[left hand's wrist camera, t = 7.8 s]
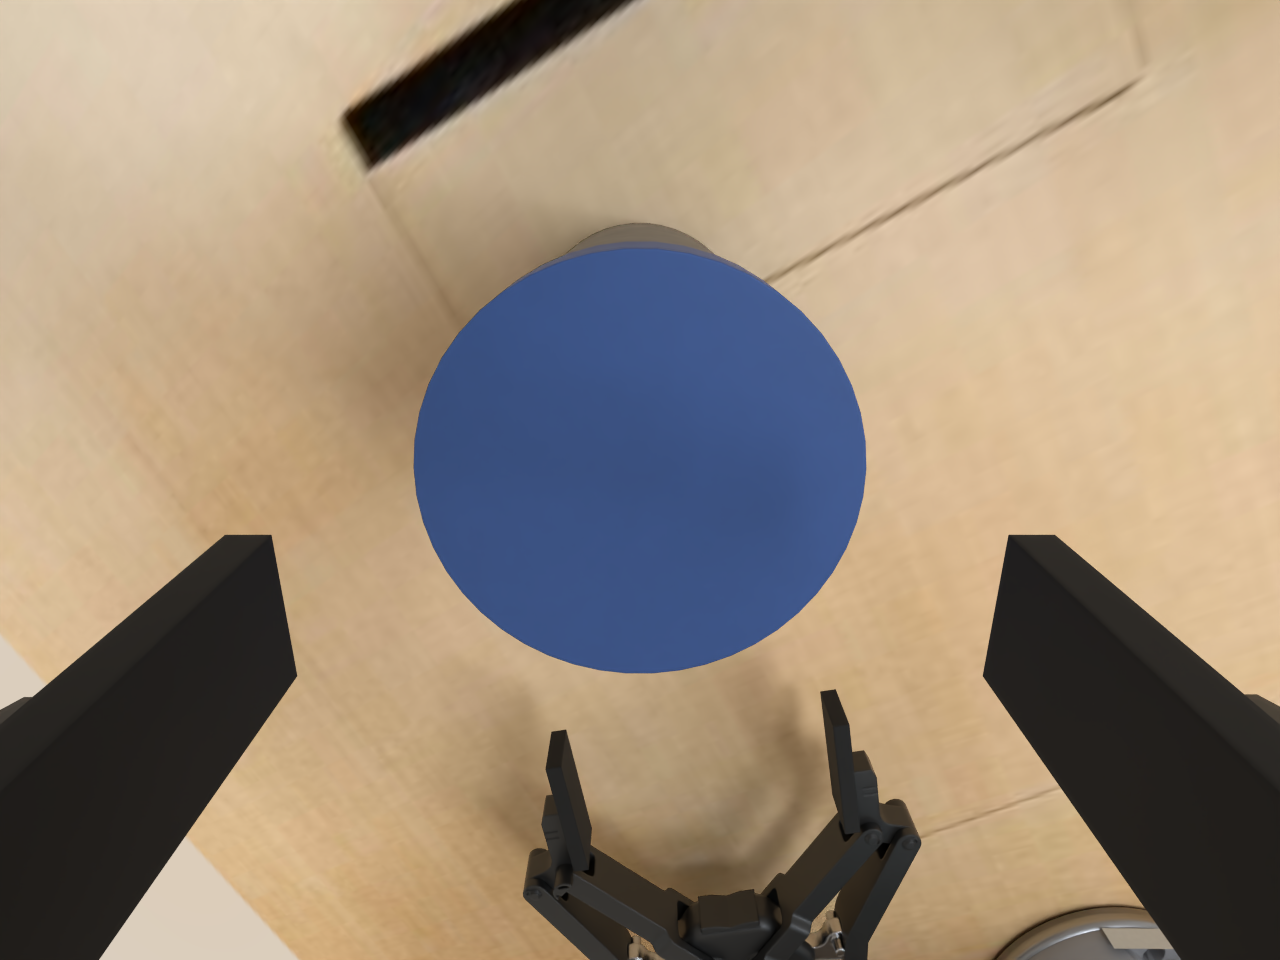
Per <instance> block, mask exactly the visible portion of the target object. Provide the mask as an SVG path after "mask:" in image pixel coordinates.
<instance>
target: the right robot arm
mask: <svg viewBox="0 0 1280 960" xmlns="http://www.w3.org/2000/svg"><path fill="white" fill-rule="evenodd" d="M820 693H821V701H822V710H823V718H824V727H825V735H826V744H827V752H828V761H829V769H830V778H831V786H832V795H833V798H834V801H835V804H836V807H837V810H838V813H837V814H836V815H835V816H834V818H833V819H832V820H831V821H830V822H829V824H828V825H827V826H826V827H825V828H824V829H823V831H822V832H821V833H820V834H819V835H818V836H817V838H816V839H815V840H814V841H813V842H812V844H811V845H810V846H809V847H808V848H807V849H806V851H805V852H804V853H803V854H802V855H801V856H800V858H799V859H798V860H797V861H796V862H795V864H794V865H793V866H792V867H791V868H790V869H789V871H788V872H787V873H786V874H785V875H784V874H782V873H779V874H777V875H776V877H775V878H774V879H773V880H772V881H771V882H770V884H769V885H768V886H767V887H766V888H765V890H764V891H763V892H762V893H761V894H755V893H754V889H752V890H744V891H739V892H736V893H733V894H730V895H727V896H722V895H707V896H700V897H698V901H697V902H695V903H694V902H693V901H691V900H690V899H688V898H686V897H685V896H683V895H682V894H680V893H678V892H677V891H675V890H674V889H672V888H668V889H667V890H665V891H664V890H662V889H660V888H659V887H657V886H655V885H654V884H652V883H651V882H649V881H647V880H646V879H644V878H643V877H641V876H639V875H638V874H636V873H635V872H633V871H631V870H630V869H628V868H627V867H625V866H623V865H622V864H620V863H618V862H617V861H615V860H614V859H612V858H610V857H609V856H607V855H606V854H604V853H602V852H601V851H599V850H598V849H596V848H594V847H593V846H591V831H592V827H591V824H590V820H589V816H588V812H587V808H586V804H585V800H584V797H583V793H582V789H581V785H580V781H579V777H578V773H577V770H576V766H575V762H574V758H573V754H572V750H571V747H570V743H569V739H568V735H567V731H566V730H561V731H554V732H551V739H550V745H549V751H548V757H547V764H546V773H547V776H548V780H549V783H550V787H551V791H552V794H553V795H548V796H546V800H545V805H544V812H543V818H542V828H543V832H544V835H545V839H546V842H547V845H548V849H549V850H546V849H542V848H538V849H535V850H533V851H532V852H530V855H529V860H528V866H527V872H526V878H525V884H524V890H523V897H524V898H525V900H526V901H528V902H529V903H530V904H531V905H532V906H533V907H534V908H535V909H536V910H537V911H538V912H539V913H540V914H541V915H543V916H544V917H545V918H546V919H547V920H548V921H549V922H550V923H551V924H552V925H553V926H554V927H555V928H556V929H557V930H559V931H560V932H561V933H562V934H563V935H564V936H565V937H566V938H567V939H568V940H569V941H570V942H571V943H572V944H574V945H575V946H576V947H577V948H578V949H579V950H580V951H581V952H582V953H583V954H584V955H585V956H586V957H587V958H589V959H590V960H867V953H868V942H869V940H870V938H871V937H872V935H873V933H874V931H875V929H876V927H877V925H878V924H879V922H880V920H881V918H882V916H883V914H884V913H885V911H886V909H887V907H888V905H889V903H890V902H891V900H892V898H893V896H894V894H895V892H896V891H897V889H898V887H899V885H900V883H901V881H902V880H903V878H904V876H905V874H906V872H907V870H908V869H909V867H910V865H911V863H912V861H913V859H914V858H915V856H916V854H917V852H918V850H919V848H920V846H921V839H920V837H919V835H918V832H917V830H916V828H915V825H914V823H913V821H912V819H911V816H910V814H909V812H908V809H907V807H906V805H905V803H904V802H903V801H902V800H899V799H893V800H889V801H888V802H886V803H885V804H882V803H879V799H878V788H877V777H876V775H875V772H874V770H873V767H872V765H871V762H870V760H869V758H868V756H867V754H866V753H865V751H857V752H852V746H851V736H850V727H849V723H848V720H847V718H846V715H845V712H844V710H843V707H842V705H841V702H840V700H839V697H838V694H837V692H836V689H835V690H828V691H822V692H820ZM839 891H840V892H839ZM838 892H839V895H838V897H837V899H836V903H835V909H834V911H828V912H827V913H826V919H827V920H826V921H825V922H824V924H823V926H822V928H821V929H820V930H819V931H817V932H815V933H810V930H811V924H812V922H813V920H814V919H815V918H816V917H817V916H818V915H819V913H820V912H821V911H822V910H823V909H824V908H825V907H826V906H827V904H828V903H829V902H830V901H831V900H832V899H833V898H834V897H835V895H836V894H837V893H838ZM626 928H627V929H629V930H631V931H632V932H634V933H636V934H637V935H639V936H641V937H642V938H644V939H646V940H647V941H649V942H650V943H651V944H652V945H653V947H654V950H655V952H651V951H649V950H647V949H646V948H645V946H643V945H642V944H641V938H640V937H639V936H633V937H631V935H630V933H629V931H628V930H627V929H626ZM996 960H1181V959H1180V957H1179V956H1178V955H1177V953H1176V952H1175V950H1174V949H1173V947H1172V946H1171V945H1170V943H1169V942H1168V940H1167V939H1166V937H1165V936H1164V935H1163V933H1162V932H1161V930H1160V929H1159V927H1158V926H1157V925H1156V923H1155V922H1154V920H1153V919H1152V917H1151V916H1150V915H1149V913H1148V912H1147V910H1142V909H1136V908H1126V907H1108V908H1096V909H1089V910H1084V911H1079V912H1075V913H1071V914H1067V915H1064V916H1061V917H1058V918H1056V919H1053V920H1051V921H1048V922H1046V923H1044V924H1042V925H1040V926H1038V927H1036V928H1034V929H1032V930H1031V931H1029V932H1027V933H1026V934H1024V935H1023V936H1021V937H1020V938H1018V939H1017V940H1016V941H1015V942H1013V943H1012V944H1011V945H1010V946H1009V947H1008V948H1006V949H1005V950H1004V951H1003V952H1002V953H1001V955H1000V956H999V957H998V958H997V959H996Z"/></svg>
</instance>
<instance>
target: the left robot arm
mask: <svg viewBox="0 0 1280 960" xmlns="http://www.w3.org/2000/svg"><path fill="white" fill-rule="evenodd" d="M296 677H297V672H296V667H295V661H294V656H293V650H292V645H291V639H290V634H289V628H288V623H287V618H286V612H285V607H284V601H283V596H282V590H281V585H280V579H279V574H278V568H277V563H276V557H275V552H274V546H273V541H272V536H271V535H224V536H223V537H222V538H221V539H220V540H219V541H217V542H216V543H215V544H214V545H213V546H211V547H210V548H209V549H208V550H207V551H205V552H204V553H203V554H202V555H201V556H200V557H198V558H197V559H196V560H195V561H194V562H192V563H191V564H190V565H189V566H188V567H186V568H185V569H184V570H183V571H182V572H181V573H179V574H178V575H177V576H176V577H175V578H173V579H172V580H171V581H170V582H169V583H167V584H166V585H165V586H164V587H163V588H162V589H160V590H159V591H158V592H157V593H156V594H154V595H153V596H152V597H151V598H150V599H148V600H147V601H146V602H145V603H144V604H143V605H141V606H140V607H139V608H138V609H137V610H135V611H134V612H133V613H132V614H131V615H129V616H128V617H127V618H126V619H125V620H124V621H122V622H121V623H120V624H119V625H118V626H116V627H115V628H114V629H113V630H112V631H110V632H109V633H108V634H107V635H106V636H105V637H103V638H102V639H101V640H100V641H99V642H97V643H96V644H95V645H94V646H93V647H91V648H90V649H89V650H88V651H87V652H86V653H84V654H83V655H82V656H81V657H80V658H78V659H77V660H76V661H75V662H74V663H72V664H71V665H70V666H69V667H68V668H67V669H65V670H64V671H63V672H62V673H61V674H59V675H58V676H57V677H56V678H55V679H53V680H52V681H51V682H50V683H49V684H48V685H46V686H45V687H44V688H43V689H42V690H41V691H39V692H38V693H37V694H36V695H34V696H33V697H23V698H22V699H20V700H18V701H16V702H14V703H12V704H10V705H9V706H7V707H5V708H3V709H1V710H0V960H99V959H100V957H101V956H102V955H103V953H104V952H105V950H106V949H107V947H108V946H109V944H110V943H111V942H112V940H113V939H114V937H115V936H116V935H117V933H118V932H119V930H120V929H121V927H122V926H123V925H124V923H125V922H126V920H127V919H128V917H129V916H130V915H131V913H132V912H133V910H134V909H135V907H136V906H137V904H138V903H139V902H140V900H141V899H142V897H143V896H144V894H145V893H146V892H147V890H148V889H149V887H150V886H151V884H152V883H153V882H154V880H155V879H156V877H157V876H158V874H159V873H160V872H161V870H162V869H163V867H164V866H165V864H166V863H167V862H168V860H169V859H170V857H171V856H172V854H173V853H174V852H175V850H176V849H177V847H178V846H179V844H180V843H181V841H182V840H183V839H184V837H185V836H186V834H187V833H188V832H189V830H190V829H191V827H192V826H193V824H194V823H195V822H196V820H197V819H198V817H199V816H200V814H201V813H202V812H203V810H204V809H205V807H206V806H207V804H208V803H209V801H210V800H211V799H212V797H213V796H214V794H215V793H216V791H217V790H218V789H219V787H220V786H221V784H222V783H223V781H224V780H225V779H226V777H227V776H228V774H229V773H230V771H231V770H232V769H233V767H234V766H235V764H236V763H237V761H238V760H239V759H240V757H241V756H242V754H243V753H244V751H245V750H246V749H247V747H248V746H249V744H250V743H251V741H252V740H253V739H254V737H255V736H256V734H257V733H258V731H259V730H260V729H261V727H262V726H263V724H264V723H265V721H266V720H267V719H268V717H269V716H270V714H271V713H272V711H273V710H274V708H275V707H276V706H277V704H278V703H279V701H280V700H281V698H282V697H283V696H284V694H285V693H286V691H287V690H288V688H289V687H290V686H291V684H292V683H293V681H294V680H295V678H296ZM983 677H984V678H985V680H986V681H987V683H988V684H989V686H990V687H991V688H992V690H993V691H994V693H995V694H996V696H997V697H998V698H999V700H1000V701H1001V703H1002V704H1003V706H1004V707H1005V708H1006V710H1007V711H1008V713H1009V714H1010V716H1011V717H1012V719H1013V720H1014V721H1015V723H1016V724H1017V726H1018V727H1019V729H1020V730H1021V731H1022V733H1023V734H1024V736H1025V737H1026V739H1027V740H1028V741H1029V743H1030V744H1031V746H1032V747H1033V749H1034V750H1035V751H1036V753H1037V754H1038V756H1039V757H1040V759H1041V760H1042V761H1043V763H1044V764H1045V766H1046V767H1047V769H1048V770H1049V771H1050V773H1051V774H1052V776H1053V777H1054V779H1055V780H1056V781H1057V783H1058V784H1059V786H1060V787H1061V789H1062V790H1063V791H1064V793H1065V794H1066V796H1067V797H1068V799H1069V800H1070V801H1071V803H1072V804H1073V806H1074V807H1075V809H1076V810H1077V812H1078V813H1079V814H1080V816H1081V817H1082V819H1083V820H1084V822H1085V823H1086V824H1087V826H1088V827H1089V829H1090V830H1091V832H1092V833H1093V834H1094V836H1095V837H1096V839H1097V840H1098V842H1099V843H1100V844H1101V846H1102V847H1103V849H1104V850H1105V852H1106V853H1107V854H1108V856H1109V857H1110V859H1111V860H1112V862H1113V863H1114V864H1115V866H1116V867H1117V869H1118V870H1119V872H1120V873H1121V874H1122V876H1123V877H1124V879H1125V880H1126V882H1127V883H1128V884H1129V886H1130V887H1131V889H1132V890H1133V892H1134V893H1135V894H1136V896H1137V897H1138V899H1139V900H1140V902H1141V903H1142V905H1143V906H1144V907H1145V909H1146V910H1147V912H1148V913H1149V915H1150V916H1151V917H1152V919H1153V920H1154V922H1155V923H1156V925H1157V926H1158V927H1159V929H1160V930H1161V932H1162V933H1163V935H1164V936H1165V937H1166V939H1167V940H1168V942H1169V943H1170V945H1171V946H1172V947H1173V949H1174V950H1175V952H1176V953H1177V955H1178V956H1179V957H1180V959H1181V960H1280V707H1279V706H1277V705H1276V704H1274V703H1272V702H1270V701H1268V700H1266V699H1264V698H1263V697H1261V696H1259V695H1244V694H1243V693H1242V692H1241V691H1240V690H1238V689H1237V688H1236V687H1235V686H1234V685H1232V684H1231V683H1230V682H1229V681H1228V680H1227V679H1225V678H1224V677H1223V676H1222V675H1221V674H1219V673H1218V672H1217V671H1216V670H1215V669H1213V668H1212V667H1211V666H1210V665H1209V664H1208V663H1206V662H1205V661H1204V660H1203V659H1202V658H1200V657H1199V656H1198V655H1197V654H1196V653H1194V652H1193V651H1192V650H1191V649H1190V648H1189V647H1187V646H1186V645H1185V644H1184V643H1183V642H1181V641H1180V640H1179V639H1178V638H1177V637H1175V636H1174V635H1173V634H1172V633H1171V632H1170V631H1168V630H1167V629H1166V628H1165V627H1164V626H1162V625H1161V624H1160V623H1159V622H1158V621H1156V620H1155V619H1154V618H1153V617H1152V616H1151V615H1149V614H1148V613H1147V612H1146V611H1145V610H1143V609H1142V608H1141V607H1140V606H1139V605H1137V604H1136V603H1135V602H1134V601H1133V600H1132V599H1130V598H1129V597H1128V596H1127V595H1126V594H1124V593H1123V592H1122V591H1121V590H1120V589H1118V588H1117V587H1116V586H1115V585H1114V584H1113V583H1111V582H1110V581H1109V580H1108V579H1107V578H1105V577H1104V576H1103V575H1102V574H1101V573H1099V572H1098V571H1097V570H1096V569H1095V568H1094V567H1092V566H1091V565H1090V564H1089V563H1088V562H1086V561H1085V560H1084V559H1083V558H1082V557H1080V556H1079V555H1078V554H1077V553H1076V552H1075V551H1073V550H1072V549H1071V548H1070V547H1069V546H1067V545H1066V544H1065V543H1064V542H1063V541H1061V540H1060V539H1059V538H1058V537H1057V536H1056V535H1009V536H1008V541H1007V546H1006V552H1005V557H1004V563H1003V568H1002V574H1001V579H1000V585H999V590H998V596H997V601H996V607H995V612H994V618H993V623H992V628H991V634H990V639H989V645H988V650H987V656H986V661H985V667H984V672H983Z"/></svg>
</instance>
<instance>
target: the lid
mask: <svg viewBox="0 0 1280 960" xmlns="http://www.w3.org/2000/svg"><path fill="white" fill-rule="evenodd" d="M414 476H415V485H416V495H417V499H418V503H419V507H420V511H421V515H422V519H423V523H424V525H425V528H426V530H427V533H428V535H429V538H430V540H431V543H432V546H433V548H434V550H435V552H436V553H437V555H438V557H439V559H440V560H441V562H442V564H443V566H444V568H445V569H446V571H447V573H448V574H449V575H450V577H451V578H452V579H453V581H454V582H455V583H456V585H457V586H458V587H459V589H460V590H461V592H462V593H463V594H464V595H465V596H466V597H467V598H468V599H469V600H470V601H471V602H472V603H473V604H474V605H475V607H476V608H477V609H478V610H479V611H480V612H481V613H482V614H484V615H485V616H486V617H487V618H489V619H490V620H491V621H492V622H493V623H495V624H496V625H497V626H498V627H500V628H501V629H502V630H504V631H505V632H507V633H508V634H510V635H511V636H513V637H515V638H516V639H518V640H519V641H521V642H522V643H524V644H526V645H528V646H530V647H532V648H534V649H536V650H538V651H540V652H542V653H544V654H547V655H549V656H552V657H554V658H557V659H560V660H563V661H566V662H569V663H572V664H575V665H579V666H584V667H588V668H592V669H597V670H603V671H611V672H620V673H659V672H669V671H678V670H683V669H688V668H692V667H696V666H701V665H705V664H708V663H711V662H714V661H717V660H720V659H723V658H726V657H729V656H731V655H733V654H735V653H737V652H740V651H742V650H744V649H746V648H748V647H750V646H752V645H754V644H756V643H757V642H759V641H761V640H762V639H764V638H765V637H767V636H769V635H770V634H772V633H773V632H775V631H776V630H778V629H779V628H780V627H782V626H783V625H784V624H785V623H786V622H788V621H789V620H790V619H791V618H793V617H794V616H795V615H796V614H798V613H799V612H800V611H801V610H802V608H803V607H804V606H805V605H806V604H807V603H808V602H809V601H810V600H811V599H812V598H813V597H814V596H815V595H816V594H817V593H818V591H819V590H820V589H821V587H822V586H823V585H824V583H825V582H826V581H827V579H828V578H829V577H830V575H831V574H832V573H833V571H834V569H835V567H836V566H837V564H838V562H839V560H840V559H841V557H842V555H843V553H844V552H845V550H846V548H847V545H848V543H849V540H850V538H851V535H852V533H853V530H854V528H855V525H856V523H857V519H858V515H859V511H860V507H861V503H862V499H863V494H864V485H865V476H866V442H865V435H864V429H863V424H862V418H861V412H860V409H859V406H858V403H857V400H856V397H855V394H854V391H853V388H852V385H851V383H850V381H849V379H848V377H847V374H846V372H845V370H844V368H843V366H842V364H841V362H840V360H839V358H838V357H837V355H836V354H835V352H834V351H833V349H832V348H831V346H830V345H829V344H828V342H827V341H826V339H825V338H824V336H823V335H822V333H821V332H820V331H819V330H818V329H817V328H816V327H815V326H814V325H813V324H812V322H811V321H810V320H809V319H808V318H807V317H806V316H805V315H804V314H803V313H802V311H800V310H799V309H798V308H797V307H796V306H794V305H793V304H792V303H791V302H790V301H788V300H787V299H786V298H785V297H783V296H782V295H781V294H780V293H779V292H777V291H776V290H775V289H774V288H772V287H771V286H770V285H768V284H767V283H766V282H764V281H763V280H762V279H760V278H758V277H757V276H755V275H754V274H752V273H750V272H749V271H747V270H745V269H744V268H742V267H741V266H739V265H737V264H735V263H732V262H730V261H728V260H726V259H723V258H721V257H719V256H716V255H714V254H712V253H708V252H705V251H701V250H698V249H694V248H691V247H687V246H683V245H676V244H669V243H662V242H634V241H626V242H618V243H611V244H604V245H597V246H593V247H589V248H586V249H582V250H579V251H575V252H571V253H568V254H566V255H564V256H561V257H559V258H557V259H554V260H552V261H550V262H547V263H545V264H543V265H541V266H539V267H538V268H536V269H535V270H533V271H531V272H530V273H528V274H526V275H525V276H523V277H521V278H520V279H518V280H517V281H516V282H514V283H513V284H512V285H510V286H509V287H508V288H506V289H505V290H504V291H503V292H501V293H500V294H499V295H498V296H497V297H495V298H494V299H493V300H492V301H490V302H489V303H488V304H487V305H486V306H484V307H483V308H482V309H481V310H479V312H478V313H477V314H476V315H475V316H474V317H473V318H472V319H471V320H470V321H469V322H468V323H467V325H466V326H465V327H464V328H463V329H462V330H461V331H460V332H459V333H458V335H457V336H456V338H455V339H454V341H453V342H452V343H451V345H450V346H449V348H448V349H447V351H446V352H445V354H444V355H443V357H442V358H441V360H440V362H439V364H438V366H437V368H436V370H435V372H434V374H433V376H432V378H431V380H430V382H429V385H428V388H427V391H426V394H425V397H424V400H423V403H422V406H421V409H420V412H419V418H418V423H417V429H416V435H415V443H414Z"/></svg>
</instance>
